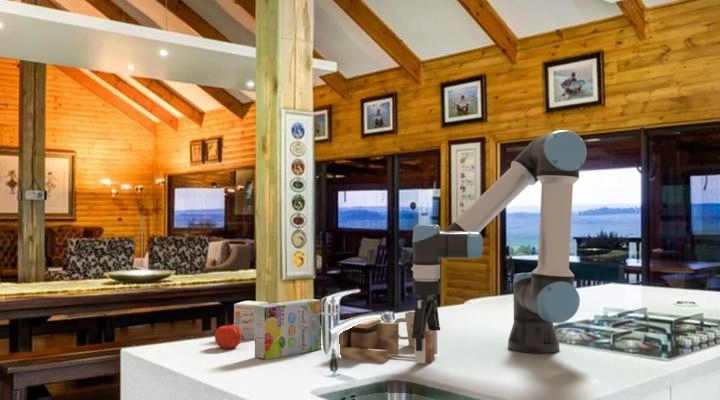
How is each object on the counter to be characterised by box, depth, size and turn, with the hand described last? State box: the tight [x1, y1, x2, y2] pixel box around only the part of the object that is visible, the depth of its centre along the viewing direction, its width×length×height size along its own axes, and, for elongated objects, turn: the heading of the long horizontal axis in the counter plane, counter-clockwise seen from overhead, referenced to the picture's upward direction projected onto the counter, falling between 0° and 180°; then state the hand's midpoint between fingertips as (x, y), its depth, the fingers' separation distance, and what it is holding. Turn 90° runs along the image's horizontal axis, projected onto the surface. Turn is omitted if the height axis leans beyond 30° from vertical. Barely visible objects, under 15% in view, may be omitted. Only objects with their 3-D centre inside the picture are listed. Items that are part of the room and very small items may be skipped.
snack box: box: [254, 298, 323, 360], centre depth 190 cm, size 21×6×15 cm, turn 134°
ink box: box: [233, 300, 269, 341], centre depth 215 cm, size 9×8×12 cm
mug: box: [393, 311, 429, 348], centre depth 202 cm, size 8×13×10 cm, turn 78°
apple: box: [214, 321, 242, 350], centre depth 197 cm, size 8×8×8 cm
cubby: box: [339, 316, 400, 363], centre depth 186 cm, size 14×11×10 cm
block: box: [351, 329, 435, 364], centre depth 183 cm, size 23×6×8 cm, turn 68°
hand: (426, 358), depth 179 cm, fingers open, 12 cm apart
